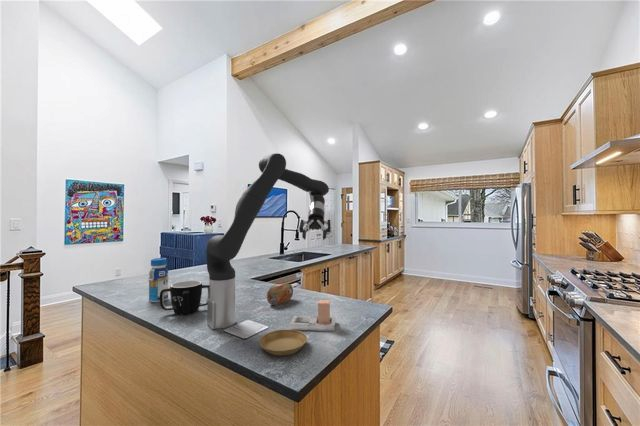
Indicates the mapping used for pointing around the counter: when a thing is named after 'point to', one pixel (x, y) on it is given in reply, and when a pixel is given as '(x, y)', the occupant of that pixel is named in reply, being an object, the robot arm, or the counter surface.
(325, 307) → the peg
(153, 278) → the beverage bottle
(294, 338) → the plant saucer
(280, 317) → the counter surface
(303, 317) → the grey flat frame
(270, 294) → the tin
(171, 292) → the mug
